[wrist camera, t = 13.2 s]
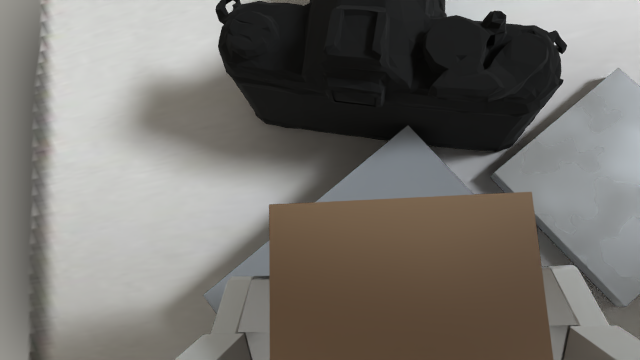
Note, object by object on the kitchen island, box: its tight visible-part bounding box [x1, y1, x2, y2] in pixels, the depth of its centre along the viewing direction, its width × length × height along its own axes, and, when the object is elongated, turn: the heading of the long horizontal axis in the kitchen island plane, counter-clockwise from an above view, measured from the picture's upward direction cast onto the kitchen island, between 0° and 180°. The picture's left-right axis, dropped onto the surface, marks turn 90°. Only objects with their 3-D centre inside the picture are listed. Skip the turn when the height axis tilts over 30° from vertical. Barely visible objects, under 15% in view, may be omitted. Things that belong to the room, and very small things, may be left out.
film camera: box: [216, 0, 567, 151], centre depth 23 cm, size 15×10×9 cm, turn 79°
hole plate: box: [203, 126, 542, 314], centre depth 23 cm, size 12×12×3 cm
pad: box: [491, 68, 640, 306], centre depth 24 cm, size 8×8×1 cm
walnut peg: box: [269, 192, 553, 360], centre depth 11 cm, size 4×4×8 cm
